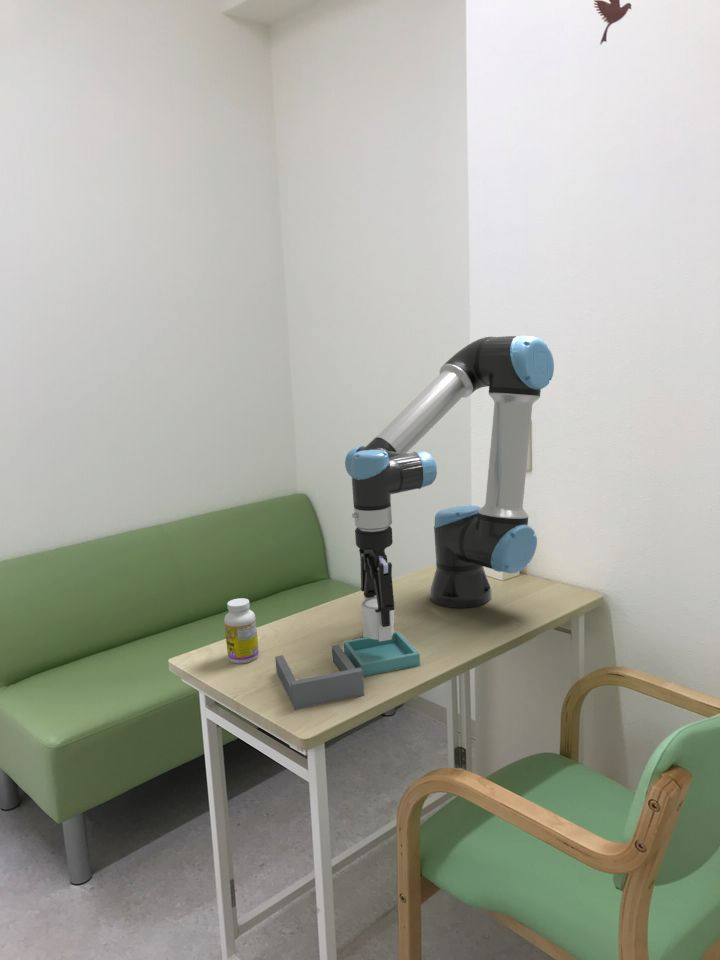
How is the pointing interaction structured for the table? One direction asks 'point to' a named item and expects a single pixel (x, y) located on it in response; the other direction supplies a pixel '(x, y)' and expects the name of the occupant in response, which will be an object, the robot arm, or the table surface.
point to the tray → (381, 654)
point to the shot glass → (373, 618)
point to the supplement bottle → (241, 632)
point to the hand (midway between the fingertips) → (379, 632)
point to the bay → (322, 682)
